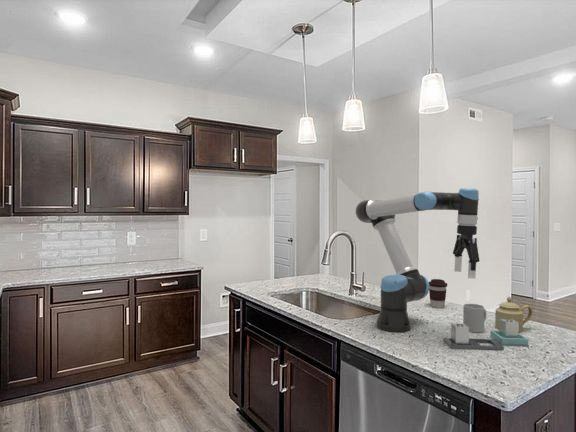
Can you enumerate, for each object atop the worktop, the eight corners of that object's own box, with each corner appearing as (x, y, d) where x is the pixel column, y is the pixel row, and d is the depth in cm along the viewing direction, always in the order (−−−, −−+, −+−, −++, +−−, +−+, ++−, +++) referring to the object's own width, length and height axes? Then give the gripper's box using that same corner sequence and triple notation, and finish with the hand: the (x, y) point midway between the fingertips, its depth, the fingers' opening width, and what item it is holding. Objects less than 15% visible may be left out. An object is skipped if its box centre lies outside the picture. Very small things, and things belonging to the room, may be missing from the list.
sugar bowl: (509, 322, 184) (510, 291, 184) (533, 329, 174) (534, 296, 174) (489, 327, 177) (490, 295, 177) (513, 334, 167) (513, 300, 167)
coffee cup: (441, 310, 206) (442, 282, 206) (424, 306, 214) (424, 279, 213) (450, 307, 213) (450, 280, 212) (433, 303, 220) (433, 277, 220)
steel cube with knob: (505, 341, 156) (505, 321, 156) (499, 337, 161) (500, 318, 161) (518, 342, 156) (518, 322, 156) (511, 338, 161) (512, 318, 161)
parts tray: (501, 345, 154) (502, 338, 154) (490, 336, 164) (490, 330, 164) (528, 346, 153) (528, 339, 153) (515, 337, 163) (515, 331, 163)
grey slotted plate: (450, 348, 150) (450, 345, 150) (443, 340, 159) (443, 337, 159) (503, 350, 149) (503, 347, 149) (492, 342, 158) (493, 339, 158)
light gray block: (455, 347, 152) (455, 326, 152) (451, 342, 157) (451, 322, 157) (468, 347, 151) (468, 326, 151) (463, 343, 156) (463, 322, 156)
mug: (474, 334, 168) (475, 309, 167) (458, 328, 175) (459, 304, 175) (493, 330, 173) (493, 306, 172) (477, 325, 180) (477, 302, 180)
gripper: (490, 227, 149) (487, 281, 150) (463, 223, 174) (460, 269, 175) (471, 227, 149) (468, 281, 150) (446, 222, 174) (444, 268, 175)
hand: (464, 274), depth 162 cm, fingers open, 13 cm apart
